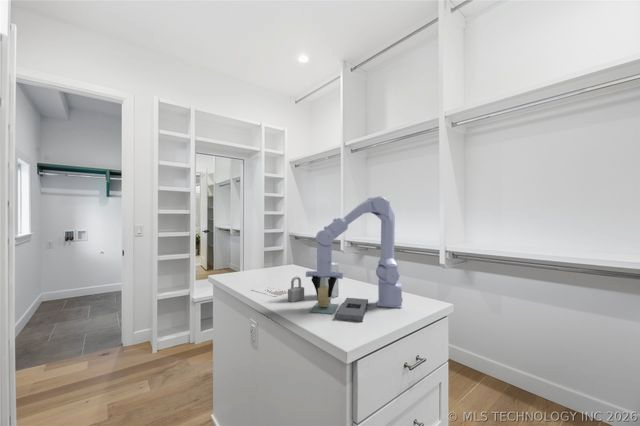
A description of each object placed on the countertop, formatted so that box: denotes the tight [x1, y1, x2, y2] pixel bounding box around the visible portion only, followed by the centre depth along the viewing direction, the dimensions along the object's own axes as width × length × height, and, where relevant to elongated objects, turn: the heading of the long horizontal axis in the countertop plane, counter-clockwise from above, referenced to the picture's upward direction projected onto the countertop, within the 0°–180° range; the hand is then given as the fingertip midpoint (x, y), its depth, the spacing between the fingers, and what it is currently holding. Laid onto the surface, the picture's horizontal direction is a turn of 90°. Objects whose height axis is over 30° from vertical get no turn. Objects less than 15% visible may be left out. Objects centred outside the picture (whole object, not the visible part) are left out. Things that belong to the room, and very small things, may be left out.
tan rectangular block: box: [317, 286, 332, 307], centre depth 111 cm, size 4×4×7 cm
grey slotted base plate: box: [336, 297, 369, 323], centre depth 108 cm, size 9×20×2 cm, turn 165°
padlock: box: [287, 276, 305, 303], centre depth 122 cm, size 7×4×10 cm, turn 137°
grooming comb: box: [265, 289, 288, 296], centre depth 136 cm, size 18×10×1 cm, turn 50°
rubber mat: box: [308, 302, 339, 315], centre depth 111 cm, size 9×11×1 cm
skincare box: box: [316, 262, 339, 299], centre depth 127 cm, size 8×6×15 cm
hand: (324, 296), depth 111 cm, fingers closed on tan rectangular block, 4 cm apart
